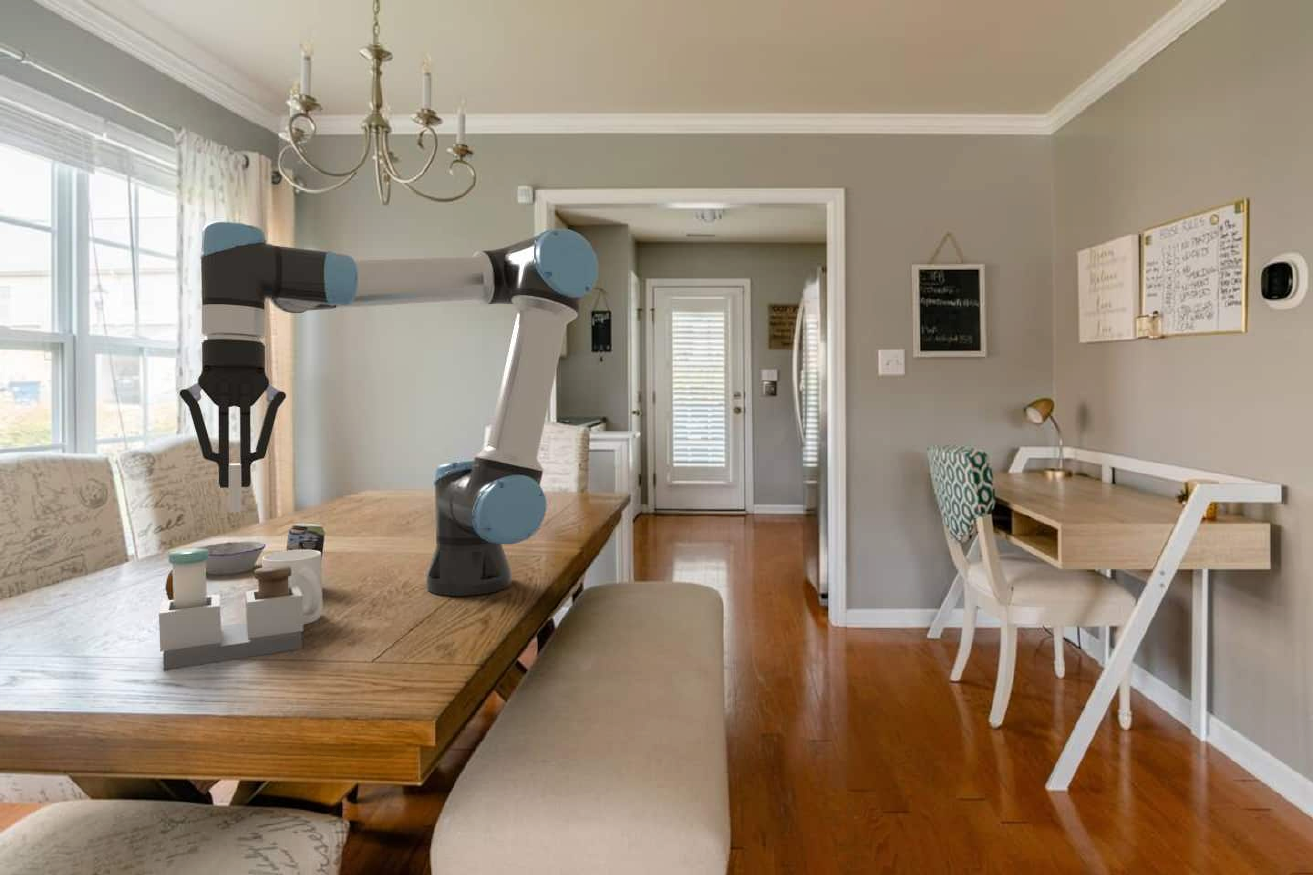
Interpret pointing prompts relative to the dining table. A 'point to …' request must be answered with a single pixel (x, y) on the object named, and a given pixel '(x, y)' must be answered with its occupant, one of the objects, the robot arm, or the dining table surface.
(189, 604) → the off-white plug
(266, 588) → the walnut plug
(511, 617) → the dining table surface
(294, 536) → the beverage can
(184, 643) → the white plug holder
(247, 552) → the bowl
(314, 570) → the mug
